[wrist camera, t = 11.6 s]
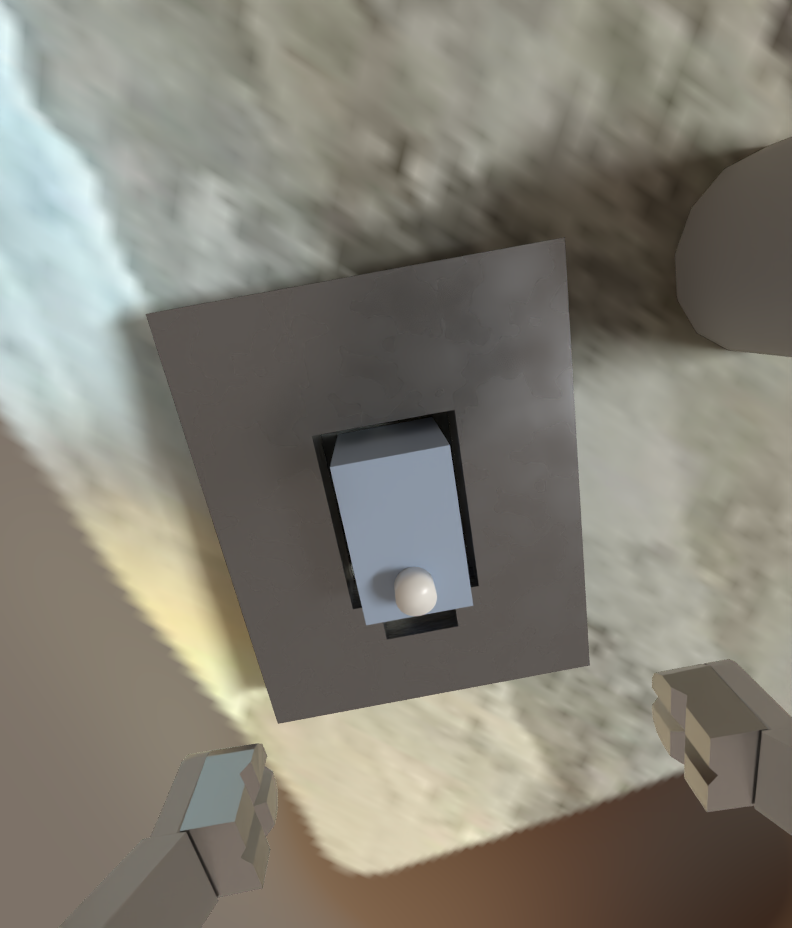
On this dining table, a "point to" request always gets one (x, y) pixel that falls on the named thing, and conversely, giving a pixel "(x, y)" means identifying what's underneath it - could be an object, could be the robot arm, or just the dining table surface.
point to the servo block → (401, 520)
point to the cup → (742, 256)
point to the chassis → (378, 401)
